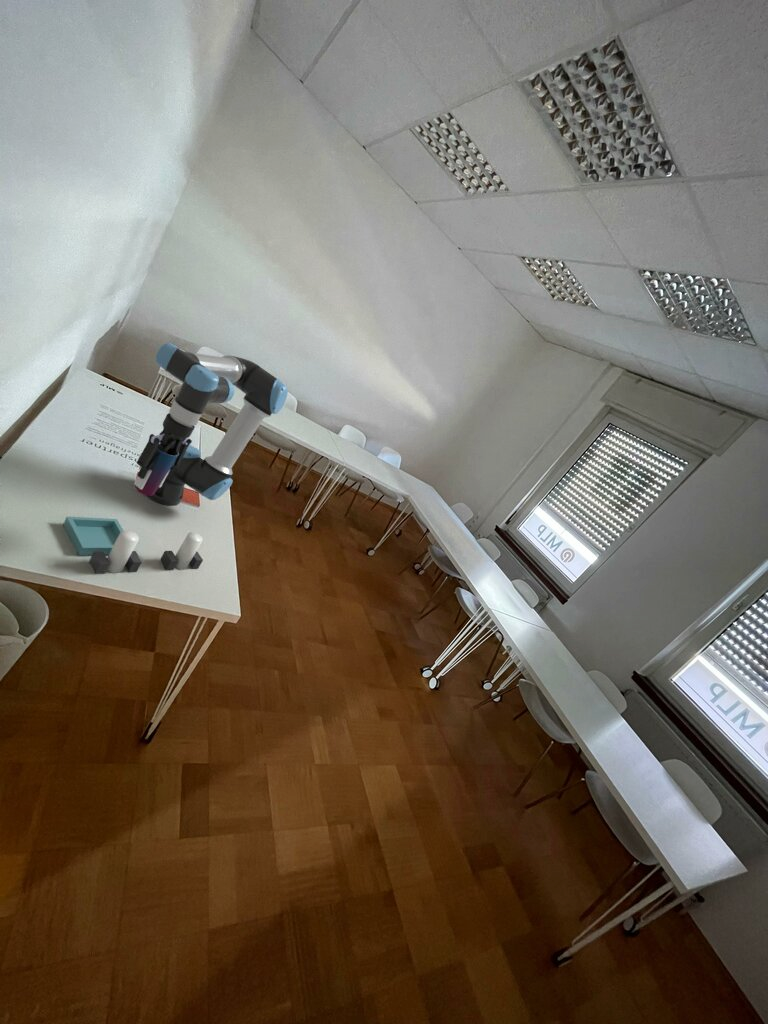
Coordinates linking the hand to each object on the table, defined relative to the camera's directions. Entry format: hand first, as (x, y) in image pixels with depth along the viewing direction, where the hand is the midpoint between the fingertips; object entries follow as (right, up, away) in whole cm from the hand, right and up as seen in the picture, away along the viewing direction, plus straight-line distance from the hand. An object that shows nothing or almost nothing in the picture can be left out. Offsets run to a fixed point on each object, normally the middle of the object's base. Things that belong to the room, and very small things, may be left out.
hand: (147, 485), depth 123 cm
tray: (-18, -16, +5) cm, 25 cm away
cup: (-1, -2, +1) cm, 2 cm away
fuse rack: (-5, -25, +9) cm, 27 cm away
